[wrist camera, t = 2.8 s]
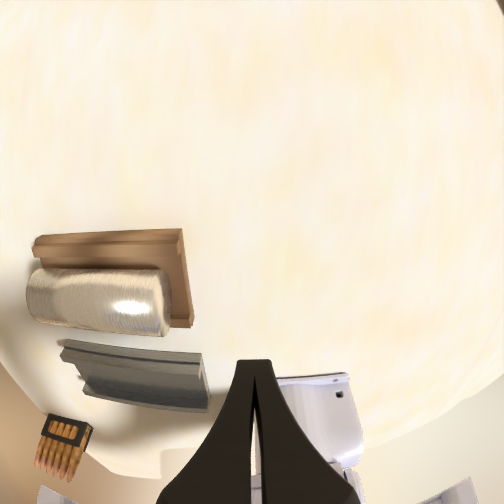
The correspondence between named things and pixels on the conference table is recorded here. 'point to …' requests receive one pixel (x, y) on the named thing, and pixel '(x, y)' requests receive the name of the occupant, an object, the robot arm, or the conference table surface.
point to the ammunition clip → (62, 445)
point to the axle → (102, 299)
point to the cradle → (141, 376)
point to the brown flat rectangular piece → (125, 259)
